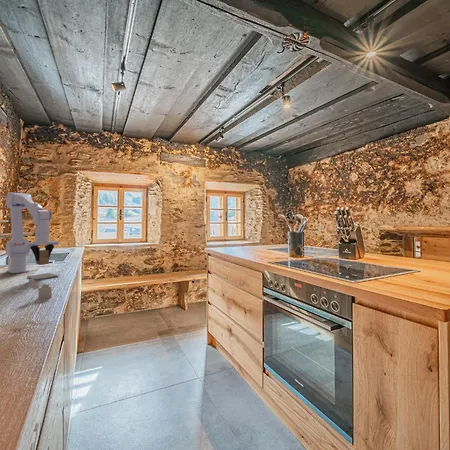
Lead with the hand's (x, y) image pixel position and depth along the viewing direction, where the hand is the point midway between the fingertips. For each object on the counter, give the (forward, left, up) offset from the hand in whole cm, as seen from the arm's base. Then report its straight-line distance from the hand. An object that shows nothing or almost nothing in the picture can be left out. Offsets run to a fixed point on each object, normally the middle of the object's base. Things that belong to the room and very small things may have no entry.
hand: (42, 260), depth 133 cm
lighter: (+37, -15, -9) cm, 41 cm away
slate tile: (0, 0, -9) cm, 9 cm away
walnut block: (0, 0, -2) cm, 2 cm away
